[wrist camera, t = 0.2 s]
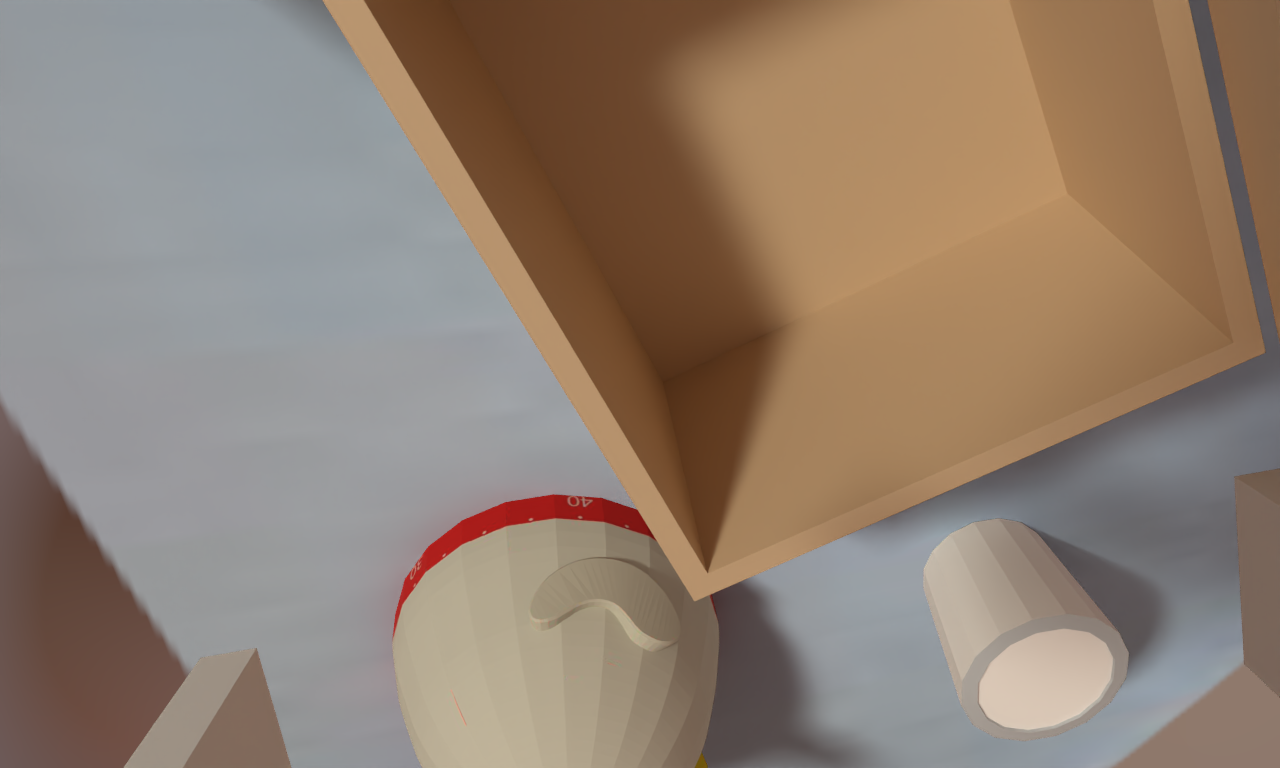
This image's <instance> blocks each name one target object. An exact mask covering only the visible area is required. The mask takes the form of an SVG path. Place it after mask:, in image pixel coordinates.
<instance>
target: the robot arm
mask: <svg viewBox="0 0 1280 768" xmlns="http://www.w3.org/2000/svg"><path fill="white" fill-rule="evenodd" d="M1234 478H1235V498H1236V517H1237V536H1238V556H1239V575H1240V594H1241V614H1242V633H1243V652H1244V664H1245V665H1246V666H1247V667H1248V668H1249V669H1250V670H1251V671H1252V672H1253V673H1254V674H1255V675H1257V677H1259V678H1260V679H1261V680H1262V681H1263V682H1264V683H1265V684H1266V685H1267V686H1268V687H1269V688H1270V689H1271V690H1272V691H1274V692H1275V693H1276V694H1277V695H1278V696H1279V697H1280V469H1275V470H1269V471H1263V472H1258V473H1252V474H1246V475H1241V476H1235V477H1234ZM124 768H291V765H290V761H289V758H288V755H287V751H286V748H285V744H284V741H283V737H282V734H281V730H280V727H279V724H278V720H277V717H276V713H275V710H274V706H273V703H272V700H271V696H270V693H269V689H268V686H267V682H266V679H265V675H264V672H263V669H262V665H261V662H260V658H259V655H258V651H257V648H254V649H248V650H243V651H237V652H231V653H225V654H220V655H214V656H208V657H203V658H200V660H199V661H198V662H197V664H196V665H195V667H194V668H193V669H192V671H191V672H190V674H189V675H188V677H187V678H186V679H185V681H184V683H183V684H182V685H181V687H180V688H179V690H178V691H177V692H176V694H175V695H174V697H173V698H172V699H171V701H170V703H169V704H168V705H167V707H166V708H165V709H164V711H163V712H162V714H161V715H160V717H159V718H158V719H157V721H156V722H155V724H154V725H153V726H152V728H151V729H150V731H149V732H148V734H147V735H146V736H145V738H144V739H143V741H142V742H141V744H140V745H139V746H138V748H137V749H136V751H135V752H134V754H133V755H132V756H131V758H130V759H129V761H128V762H127V764H126V765H125V766H124Z"/></svg>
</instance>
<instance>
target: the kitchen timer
mask: <svg viewBox="0 0 1280 768" xmlns="http://www.w3.org/2000/svg"><path fill="white" fill-rule="evenodd" d="M718 655H719V625H718V619H717V615H716V611H715V606H714V602H713V598H712V595H708V596H706V597H704V598H701V599H699V600H697V601H694V600H693V598H692V597H691V595H690V594H689V592H688V590H687V589H686V587H685V585H684V584H683V582H682V581H681V579H680V577H679V576H678V574H677V573H676V571H675V569H674V568H673V566H672V564H671V563H670V561H669V560H668V558H667V556H666V555H665V553H664V552H663V550H662V548H661V547H660V545H659V543H658V542H657V540H656V539H655V537H654V535H653V534H652V532H651V531H650V529H649V527H648V526H647V524H646V522H645V521H644V519H643V518H642V516H641V514H640V513H639V511H638V510H636V509H633V508H630V507H627V506H624V505H621V504H618V503H615V502H612V501H609V500H606V499H603V498H594V497H581V496H567V495H548V496H542V497H535V498H529V499H523V500H517V501H510V502H505V503H503V504H500V505H498V506H496V507H493V508H491V509H488V510H486V511H484V512H481V513H479V514H477V515H474V516H472V517H469V518H467V519H465V520H462V521H461V522H460V523H458V524H457V525H456V526H455V527H453V528H452V529H451V530H449V531H448V532H447V533H445V534H444V535H443V536H442V537H440V538H439V539H438V540H436V541H435V542H434V543H432V544H431V545H430V546H429V547H428V548H427V549H426V550H425V552H424V553H423V555H422V556H421V558H420V559H419V560H418V562H417V563H416V565H415V566H414V567H413V569H412V570H411V572H410V573H409V575H408V576H407V577H406V579H405V581H404V585H403V589H402V592H401V596H400V600H399V603H398V607H397V611H396V614H395V623H394V632H393V657H394V666H395V674H396V683H397V691H398V698H399V703H400V707H401V711H402V714H403V717H404V720H405V724H406V727H407V730H408V733H409V736H410V739H411V741H412V744H413V747H414V750H415V753H416V756H417V758H418V760H419V762H420V764H421V766H422V768H707V767H708V766H707V763H706V761H705V759H704V756H703V754H702V749H703V747H704V744H705V740H706V737H707V733H708V728H709V723H710V718H711V713H712V708H713V702H714V696H715V690H716V682H717V669H718Z"/></svg>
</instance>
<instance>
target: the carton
mask: <svg viewBox="0 0 1280 768" xmlns="http://www.w3.org/2000/svg"><path fill="white" fill-rule="evenodd" d="M323 2H324V3H325V5H326V7H327V8H328V10H329V12H330V13H331V15H332V16H333V18H334V20H335V21H336V23H337V24H338V26H339V28H340V29H341V31H342V33H343V34H344V36H345V37H346V39H347V41H348V42H349V44H350V46H351V47H352V49H353V50H354V52H355V54H356V55H357V57H358V58H359V60H360V62H361V63H362V65H363V67H364V68H365V70H366V71H367V73H368V75H369V76H370V78H371V79H372V81H373V83H374V84H375V86H376V88H377V89H378V91H379V92H380V94H381V96H382V97H383V99H384V100H385V102H386V104H387V105H388V107H389V109H390V110H391V112H392V113H393V115H394V117H395V118H396V120H397V121H398V123H399V125H400V126H401V128H402V130H403V131H404V133H405V134H406V136H407V138H408V139H409V141H410V143H411V144H412V146H413V147H414V149H415V151H416V152H417V154H418V155H419V157H420V159H421V160H422V162H423V164H424V165H425V167H426V168H427V170H428V172H429V173H430V175H431V176H432V178H433V180H434V181H435V183H436V185H437V186H438V188H439V189H440V191H441V193H442V194H443V196H444V197H445V199H446V201H447V202H448V204H449V206H450V207H451V209H452V210H453V212H454V214H455V215H456V217H457V218H458V220H459V222H460V223H461V225H462V227H463V228H464V230H465V231H466V233H467V235H468V236H469V238H470V240H471V241H472V243H473V244H474V246H475V248H476V249H477V251H478V252H479V254H480V256H481V257H482V259H483V261H484V262H485V264H486V265H487V267H488V269H489V270H490V272H491V273H492V275H493V277H494V278H495V280H496V282H497V283H498V285H499V286H500V288H501V290H502V291H503V293H504V294H505V296H506V298H507V299H508V301H509V303H510V304H511V306H512V307H513V309H514V311H515V312H516V314H517V315H518V317H519V319H520V320H521V322H522V324H523V325H524V327H525V328H526V330H527V332H528V333H529V335H530V337H531V338H532V340H533V341H534V343H535V345H536V346H537V348H538V349H539V351H540V353H541V354H542V356H543V358H544V359H545V361H546V362H547V364H548V366H549V367H550V369H551V370H552V372H553V374H554V375H555V377H556V379H557V380H558V382H559V383H560V385H561V387H562V388H563V390H564V391H565V393H566V395H567V396H568V398H569V400H570V401H571V403H572V404H573V406H574V408H575V409H576V411H577V412H578V414H579V416H580V417H581V419H582V421H583V422H584V424H585V425H586V427H587V429H588V430H589V432H590V434H591V435H592V437H593V438H594V440H595V442H596V443H597V445H598V446H599V448H600V450H601V451H602V453H603V455H604V456H605V458H606V459H607V461H608V463H609V464H610V466H611V467H612V469H613V471H614V472H615V474H616V476H617V477H618V479H619V480H620V482H621V484H622V485H623V487H624V488H625V490H626V492H627V493H628V495H629V497H630V498H631V500H632V501H633V503H634V505H635V506H636V508H637V509H638V511H639V513H640V514H641V516H642V518H643V519H644V521H645V522H646V524H647V526H648V527H649V529H650V531H651V532H652V534H653V535H654V537H655V539H656V540H657V542H658V543H659V545H660V547H661V548H662V550H663V552H664V553H665V555H666V556H667V558H668V560H669V561H670V563H671V564H672V566H673V568H674V569H675V571H676V573H677V574H678V576H679V577H680V579H681V581H682V582H683V584H684V585H685V587H686V589H687V590H688V592H689V594H690V595H691V597H692V598H693V600H694V601H697V600H699V599H701V598H704V597H706V596H708V595H711V594H713V593H715V592H717V591H720V590H722V589H724V588H727V587H729V586H731V585H733V584H736V583H738V582H740V581H743V580H745V579H747V578H750V577H752V576H754V575H756V574H759V573H761V572H763V571H766V570H768V569H770V568H772V567H775V566H777V565H779V564H782V563H784V562H786V561H789V560H791V559H793V558H795V557H798V556H800V555H802V554H805V553H807V552H809V551H812V550H814V549H816V548H818V547H821V546H823V545H825V544H828V543H830V542H832V541H834V540H837V539H839V538H841V537H844V536H846V535H848V534H851V533H853V532H855V531H857V530H860V529H862V528H864V527H867V526H869V525H871V524H873V523H876V522H878V521H880V520H883V519H885V518H887V517H890V516H892V515H894V514H896V513H899V512H901V511H903V510H906V509H908V508H910V507H912V506H915V505H917V504H919V503H922V502H924V501H926V500H929V499H931V498H933V497H935V496H938V495H940V494H942V493H945V492H947V491H949V490H951V489H954V488H956V487H958V486H961V485H963V484H965V483H968V482H970V481H972V480H974V479H977V478H979V477H981V476H984V475H986V474H988V473H991V472H993V471H995V470H997V469H1000V468H1002V467H1004V466H1007V465H1009V464H1011V463H1013V462H1016V461H1018V460H1020V459H1023V458H1025V457H1027V456H1030V455H1032V454H1034V453H1036V452H1039V451H1041V450H1043V449H1046V448H1048V447H1050V446H1052V445H1055V444H1057V443H1059V442H1062V441H1064V440H1066V439H1069V438H1071V437H1073V436H1075V435H1078V434H1080V433H1082V432H1085V431H1087V430H1089V429H1091V428H1094V427H1096V426H1098V425H1101V424H1103V423H1105V422H1108V421H1110V420H1112V419H1114V418H1117V417H1119V416H1121V415H1124V414H1126V413H1128V412H1130V411H1133V410H1135V409H1137V408H1140V407H1142V406H1144V405H1147V404H1149V403H1151V402H1153V401H1156V400H1158V399H1160V398H1163V397H1165V396H1167V395H1169V394H1172V393H1174V392H1176V391H1179V390H1181V389H1183V388H1186V387H1188V386H1190V385H1192V384H1195V383H1197V382H1199V381H1202V380H1204V379H1206V378H1209V377H1211V376H1213V375H1215V374H1218V373H1220V372H1222V371H1225V370H1227V369H1229V368H1231V367H1234V366H1236V365H1238V364H1241V363H1243V362H1245V361H1248V360H1250V359H1252V358H1254V357H1257V356H1259V355H1261V354H1264V353H1266V351H1265V347H1264V342H1263V338H1262V333H1261V329H1260V324H1259V320H1258V315H1257V311H1256V306H1255V301H1254V297H1253V292H1252V288H1251V283H1250V279H1249V274H1248V270H1247V265H1246V260H1245V256H1244V251H1243V247H1242V242H1241V238H1240V233H1239V229H1238V224H1237V220H1236V215H1235V210H1234V206H1233V201H1232V197H1231V192H1230V188H1229V183H1228V179H1227V174H1226V169H1225V165H1224V160H1223V156H1222V151H1221V147H1220V142H1219V138H1218V133H1217V129H1216V124H1215V119H1214V115H1213V110H1212V106H1211V101H1210V97H1209V92H1208V88H1207V83H1206V79H1205V74H1204V69H1203V65H1202V60H1201V56H1200V51H1199V47H1198V42H1197V38H1196V33H1195V28H1194V24H1193V19H1192V15H1191V10H1190V6H1189V1H1188V0H323Z"/></svg>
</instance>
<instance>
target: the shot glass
mask: <svg viewBox="0 0 1280 768" xmlns="http://www.w3.org/2000/svg"><path fill="white" fill-rule="evenodd" d="M923 588H924V591H925V594H926V598H927V601H928V604H929V607H930V610H931V613H932V616H933V619H934V622H935V625H936V629H937V632H938V635H939V638H940V641H941V644H942V647H943V650H944V653H945V657H946V660H947V663H948V666H949V669H950V672H951V675H952V678H953V681H954V684H955V688H956V691H957V694H958V697H959V700H960V703H961V706H962V708H963V709H964V711H965V712H966V714H967V716H968V717H969V719H970V721H971V722H972V724H973V725H974V726H976V727H977V728H979V729H981V730H983V731H985V732H986V733H988V734H990V735H992V736H994V737H996V738H1003V739H1011V740H1019V741H1028V740H1034V739H1040V738H1046V737H1052V736H1057V735H1059V734H1061V733H1063V732H1066V731H1068V730H1070V729H1072V728H1075V727H1077V726H1079V725H1081V724H1084V723H1086V722H1087V721H1088V720H1090V719H1091V718H1092V717H1093V716H1095V715H1096V714H1097V713H1098V712H1099V711H1101V710H1102V709H1103V708H1104V707H1106V706H1107V705H1108V704H1109V703H1110V702H1111V701H1112V700H1113V698H1114V696H1115V695H1116V693H1117V692H1118V690H1119V689H1120V687H1121V685H1122V684H1123V682H1124V681H1125V679H1126V675H1127V667H1128V659H1129V652H1128V650H1127V648H1126V646H1125V644H1124V642H1123V640H1122V638H1121V635H1120V633H1119V632H1118V631H1117V629H1116V628H1115V627H1114V626H1113V625H1112V623H1111V622H1110V621H1109V620H1108V619H1107V617H1106V616H1105V615H1104V614H1103V612H1102V611H1101V610H1100V609H1099V608H1098V606H1097V605H1096V604H1095V603H1094V602H1093V600H1092V599H1091V598H1090V597H1089V595H1088V594H1087V593H1086V592H1085V591H1084V589H1083V588H1082V587H1081V586H1080V585H1079V583H1078V582H1077V581H1076V580H1075V578H1074V577H1073V576H1072V575H1071V574H1070V572H1069V571H1068V570H1067V569H1066V568H1065V566H1064V565H1063V564H1062V563H1061V561H1060V560H1059V559H1058V558H1057V557H1056V555H1055V554H1054V553H1053V552H1052V551H1051V549H1050V548H1049V547H1048V546H1047V544H1046V543H1045V542H1044V541H1043V540H1042V538H1041V537H1040V536H1039V535H1038V534H1037V533H1036V532H1035V531H1033V530H1032V529H1030V528H1029V527H1027V526H1026V525H1024V524H1023V523H1021V522H1017V521H1011V520H1005V519H1000V518H997V519H991V520H985V521H978V522H973V523H971V524H969V525H967V526H965V527H963V528H961V529H959V530H957V531H955V532H953V533H951V534H950V535H949V536H947V537H946V538H945V539H944V540H943V541H942V542H941V543H940V544H939V545H938V546H937V547H936V548H935V549H934V550H933V551H932V553H931V555H930V557H929V559H928V561H927V563H926V565H925V567H924V579H923Z"/></svg>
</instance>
